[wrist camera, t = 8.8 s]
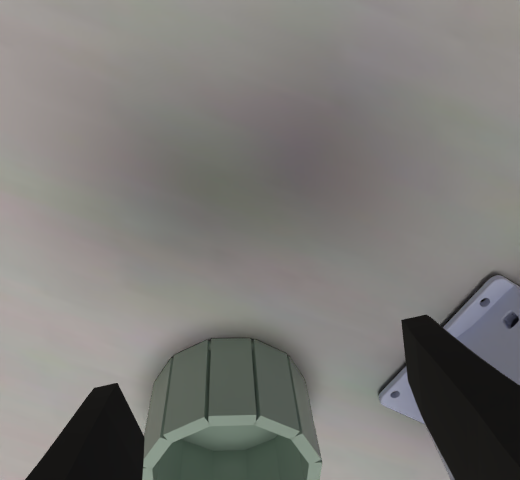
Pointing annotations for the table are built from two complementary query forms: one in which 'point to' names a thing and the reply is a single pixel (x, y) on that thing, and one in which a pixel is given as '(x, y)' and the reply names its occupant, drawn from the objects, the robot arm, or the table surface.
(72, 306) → the table surface
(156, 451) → the green faceted bowl
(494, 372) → the robot arm
